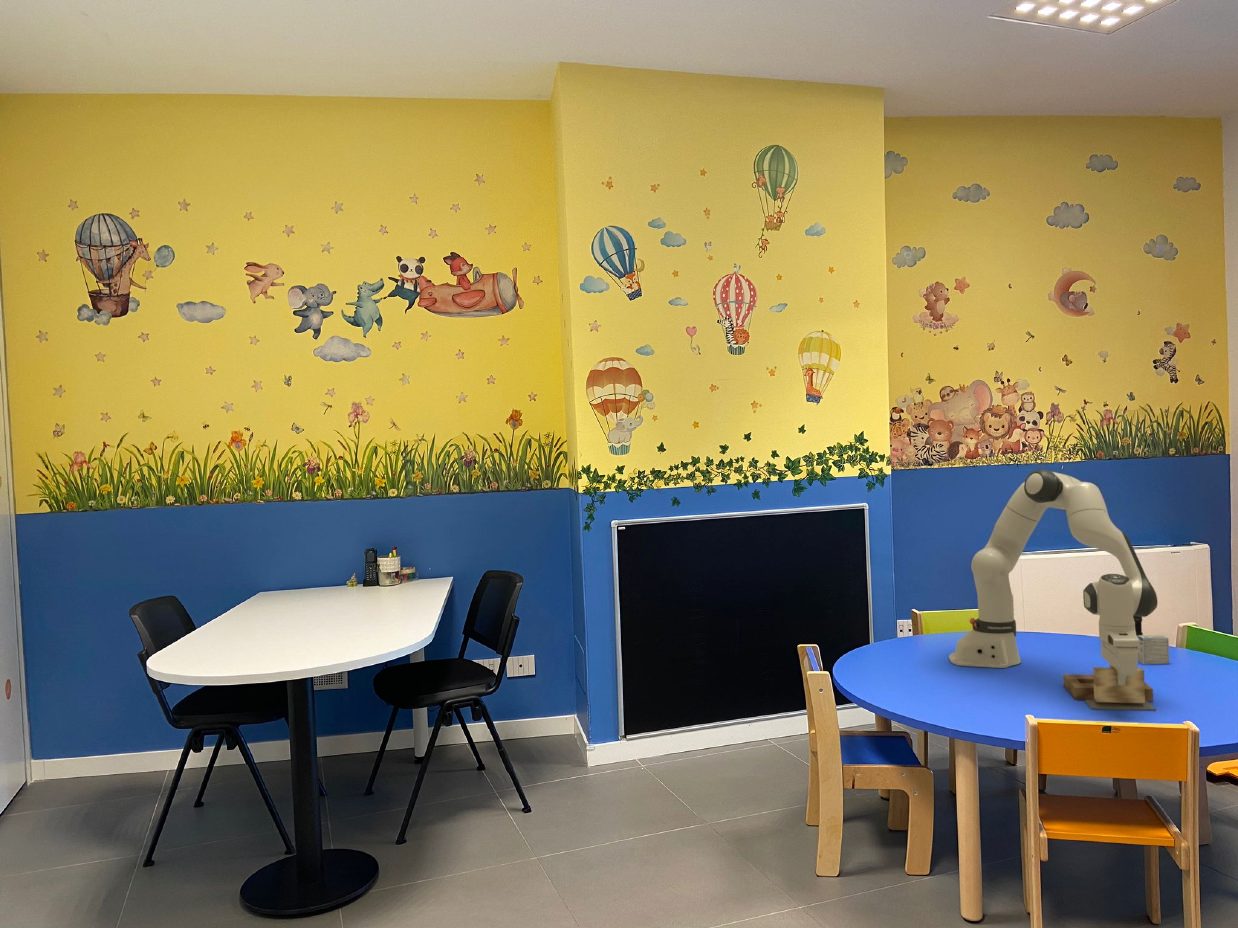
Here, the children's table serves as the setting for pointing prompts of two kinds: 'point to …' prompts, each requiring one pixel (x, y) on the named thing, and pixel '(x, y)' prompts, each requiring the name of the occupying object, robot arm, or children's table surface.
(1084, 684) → the walnut case
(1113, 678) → the oak cover plate
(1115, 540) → the robot arm
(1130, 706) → the grey flat slab
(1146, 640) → the medicine box
